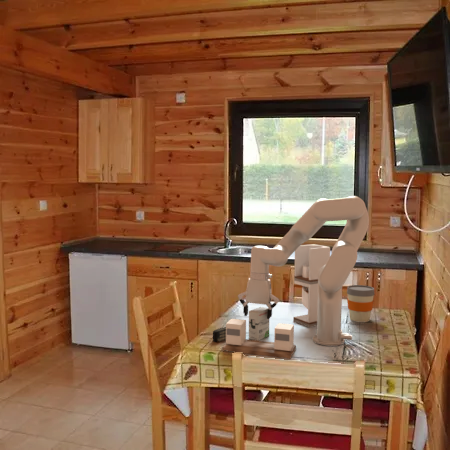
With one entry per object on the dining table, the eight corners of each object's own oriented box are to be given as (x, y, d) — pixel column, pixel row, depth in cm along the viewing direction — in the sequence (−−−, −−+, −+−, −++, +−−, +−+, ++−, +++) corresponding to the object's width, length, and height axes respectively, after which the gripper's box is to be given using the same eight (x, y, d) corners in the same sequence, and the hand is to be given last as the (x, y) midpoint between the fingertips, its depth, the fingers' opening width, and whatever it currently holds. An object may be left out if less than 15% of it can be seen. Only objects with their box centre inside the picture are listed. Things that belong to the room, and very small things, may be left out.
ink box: (260, 333, 222) (260, 306, 220) (269, 336, 218) (270, 308, 217) (247, 338, 215) (248, 310, 214) (257, 341, 212) (258, 312, 211)
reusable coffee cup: (340, 318, 246) (341, 287, 245) (357, 314, 254) (358, 283, 252) (361, 324, 236) (363, 291, 235) (379, 320, 244) (380, 288, 242)
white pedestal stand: (312, 317, 246) (313, 244, 243) (327, 323, 238) (330, 247, 234) (293, 321, 240) (295, 245, 237) (308, 327, 231) (310, 248, 228)
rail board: (295, 348, 203) (295, 343, 203) (290, 358, 192) (290, 353, 191) (231, 341, 211) (231, 336, 211) (222, 350, 199) (222, 345, 199)
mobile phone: (215, 331, 208) (243, 323, 218) (211, 330, 211) (238, 322, 221) (216, 343, 209) (243, 335, 219) (211, 341, 211) (238, 333, 221)
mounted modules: (293, 345, 200) (293, 324, 200) (289, 351, 194) (290, 330, 193) (231, 338, 208) (231, 318, 207) (225, 343, 201) (225, 323, 200)
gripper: (281, 276, 215) (279, 317, 217) (241, 272, 220) (239, 312, 222) (278, 279, 208) (275, 321, 210) (236, 275, 213) (234, 316, 215)
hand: (257, 316), depth 216 cm, fingers open, 9 cm apart
